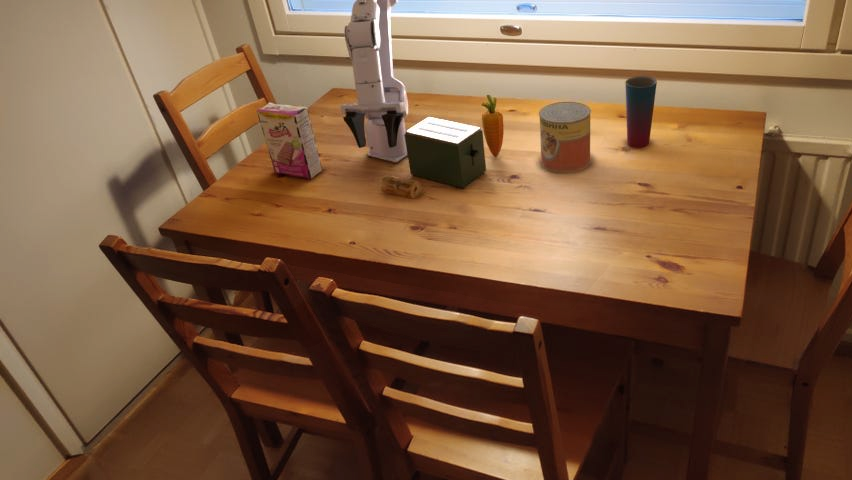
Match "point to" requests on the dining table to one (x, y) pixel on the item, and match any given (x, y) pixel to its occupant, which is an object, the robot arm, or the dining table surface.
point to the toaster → (445, 152)
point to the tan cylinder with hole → (400, 186)
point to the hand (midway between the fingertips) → (377, 146)
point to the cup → (639, 109)
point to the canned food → (565, 136)
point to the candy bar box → (290, 140)
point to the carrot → (493, 126)
